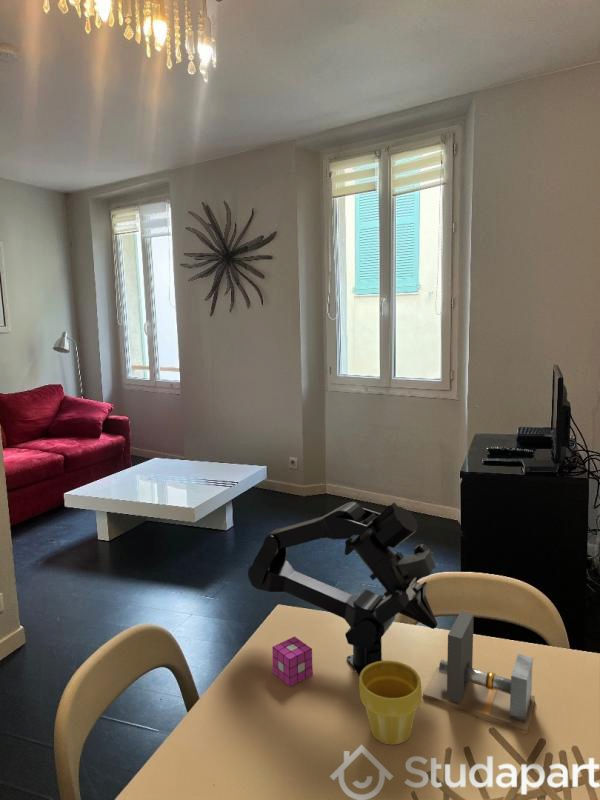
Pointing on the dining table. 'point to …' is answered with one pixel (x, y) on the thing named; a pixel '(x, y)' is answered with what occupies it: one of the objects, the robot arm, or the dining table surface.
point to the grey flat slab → (459, 655)
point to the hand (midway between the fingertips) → (435, 627)
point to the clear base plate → (477, 702)
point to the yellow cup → (390, 699)
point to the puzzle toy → (292, 661)
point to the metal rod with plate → (505, 684)
